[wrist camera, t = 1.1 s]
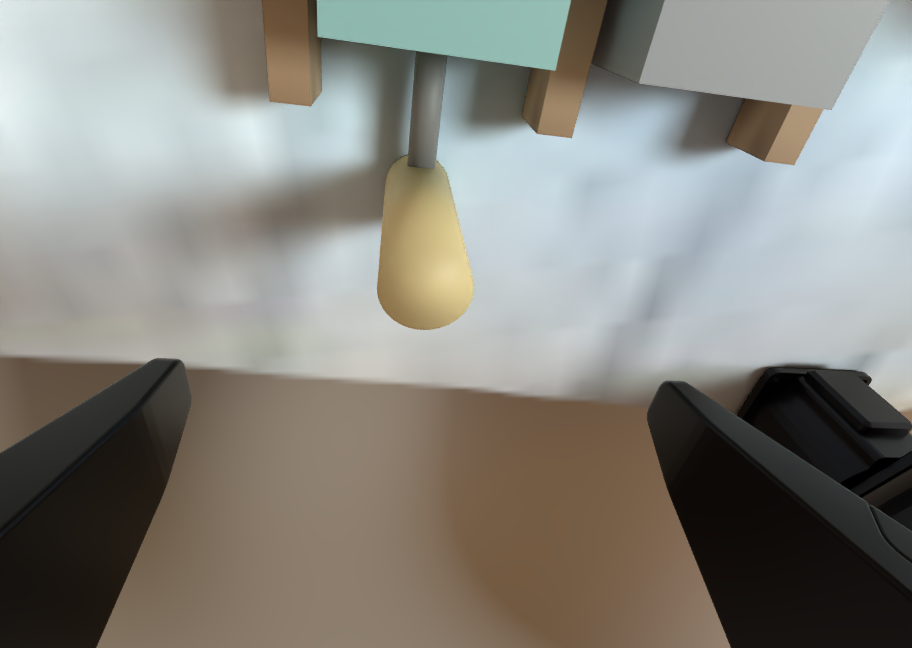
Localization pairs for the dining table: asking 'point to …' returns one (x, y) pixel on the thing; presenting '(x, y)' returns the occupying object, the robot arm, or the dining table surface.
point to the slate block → (739, 46)
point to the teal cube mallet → (436, 133)
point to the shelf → (548, 93)
